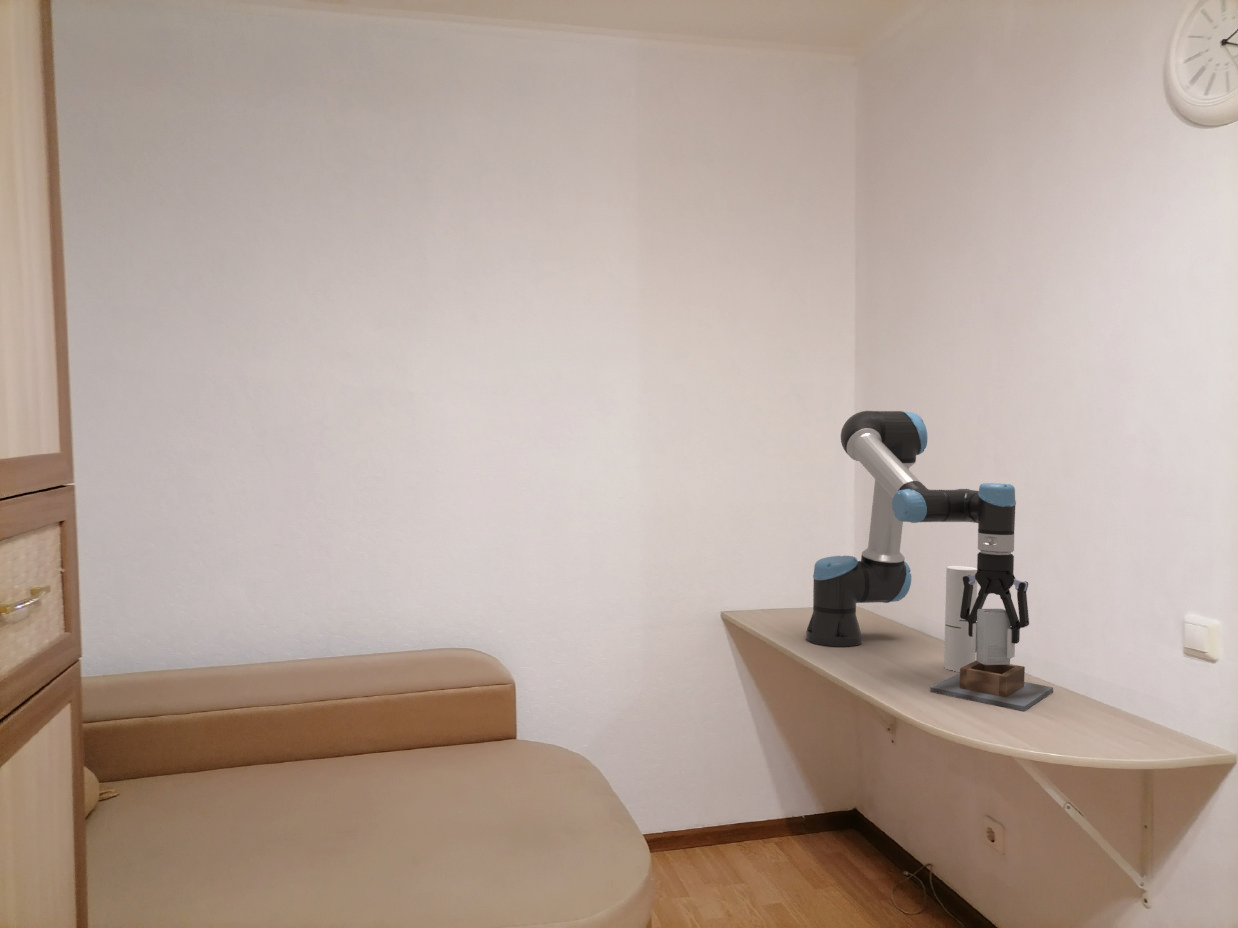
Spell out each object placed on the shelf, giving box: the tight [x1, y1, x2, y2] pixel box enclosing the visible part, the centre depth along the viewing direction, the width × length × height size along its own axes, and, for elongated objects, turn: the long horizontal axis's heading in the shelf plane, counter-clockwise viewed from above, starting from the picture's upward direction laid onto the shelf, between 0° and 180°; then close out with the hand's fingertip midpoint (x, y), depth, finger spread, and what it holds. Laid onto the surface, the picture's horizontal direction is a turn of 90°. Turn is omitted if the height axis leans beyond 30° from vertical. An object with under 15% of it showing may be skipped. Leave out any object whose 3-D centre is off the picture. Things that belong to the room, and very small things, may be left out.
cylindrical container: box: [943, 565, 978, 673], centre depth 217 cm, size 7×7×25 cm
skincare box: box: [975, 608, 1011, 665], centre depth 197 cm, size 6×4×12 cm
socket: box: [929, 659, 1054, 712], centre depth 198 cm, size 20×20×6 cm
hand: (993, 654), depth 198 cm, fingers closed on skincare box, 7 cm apart
